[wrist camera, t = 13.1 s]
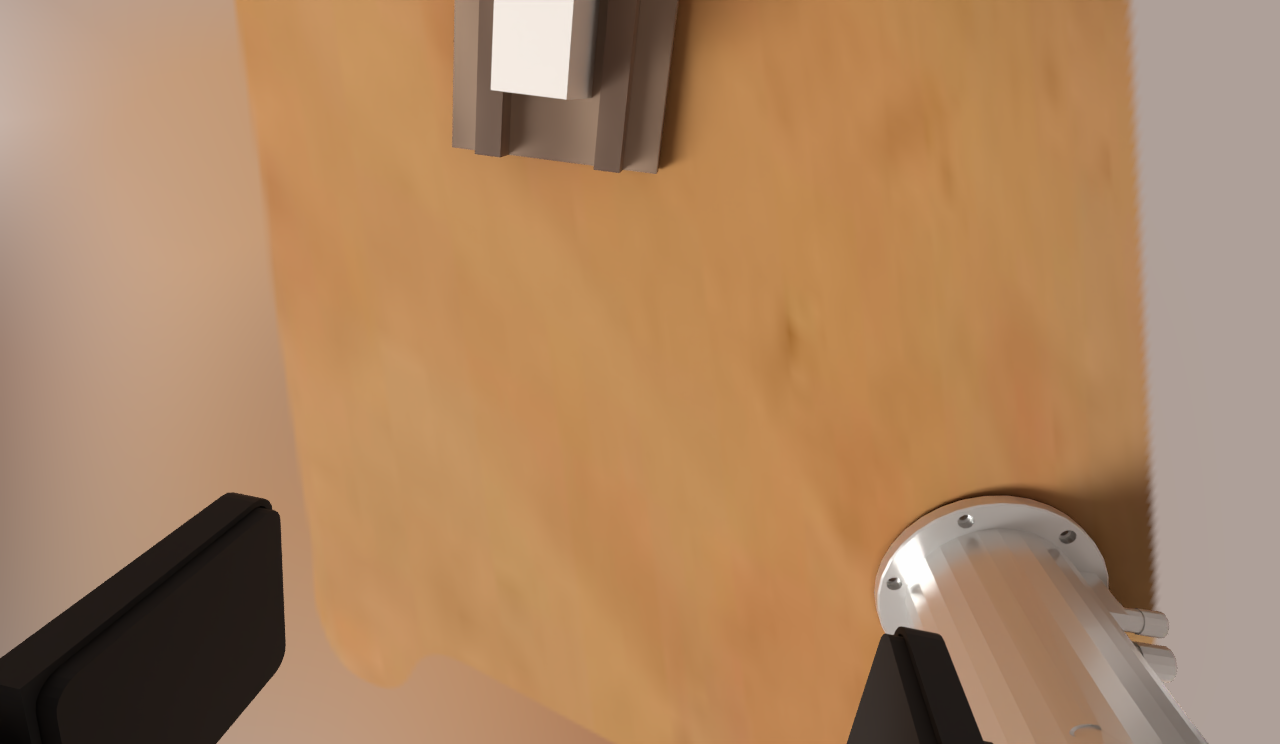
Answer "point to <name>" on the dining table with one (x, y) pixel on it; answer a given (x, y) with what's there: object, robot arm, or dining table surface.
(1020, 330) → the dining table surface
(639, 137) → the walnut rack
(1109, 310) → the dining table surface
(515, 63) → the white strip
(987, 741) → the robot arm
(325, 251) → the dining table surface
